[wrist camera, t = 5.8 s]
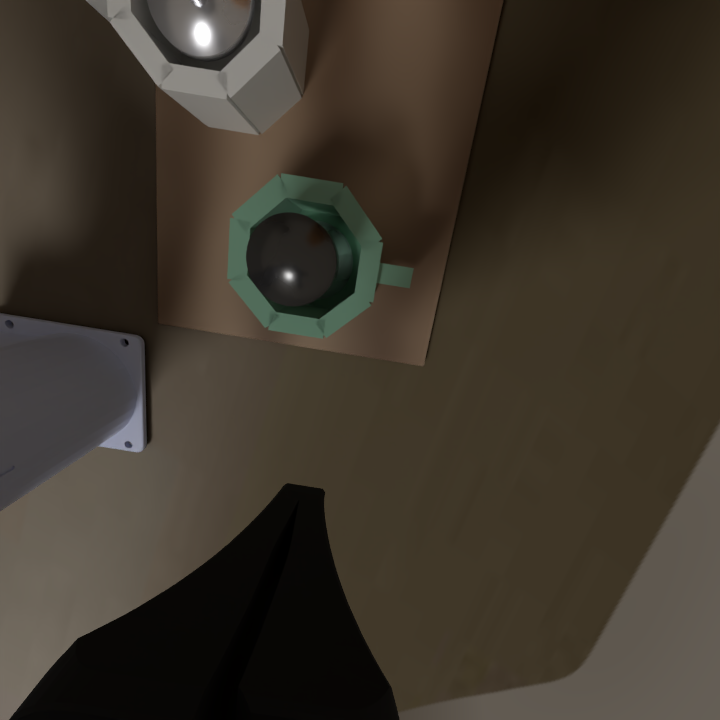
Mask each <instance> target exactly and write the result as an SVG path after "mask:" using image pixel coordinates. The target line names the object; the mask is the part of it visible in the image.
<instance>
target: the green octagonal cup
mask: <svg viewBox="0 0 720 720" xmlns="http://www.w3.org/2000/svg"><path fill="white" fill-rule="evenodd" d="M284 212H292V213H298V214H302V215H305V216H307V217H309V218H311V219H313V220H316V221H322V222H326V223H328V224H330V225H332V226H334V227H335V228H336V229H338V230H339V231H340V232H341V233H342V234H343V235H344V236H345V238H346V239H347V241H348V243H349V245H350V247H351V251H352V255H353V268H352V272H351V275H350V278H349V280H348V282H347V283H346V284H345V286H344V287H343V288H342V289H341V290H340V291H339V292H337V293H336V294H334V295H333V296H330V297H328V298H325V299H317V300H315V301H313V302H311V303H309V304H306V305H302V306H285V305H281V304H278V303H275V302H273V301H271V300H270V299H268V298H267V297H265V296H264V295H263V294H262V293H261V292H260V291H259V290H258V289H257V287H256V286H255V285H254V283H253V281H252V279H251V277H250V275H249V272H248V268H247V263H246V251H247V245H248V242H249V239H250V237H251V235H252V233H253V231H254V230H255V229H256V227H257V226H258V225H259V224H260V223H261V222H262V221H264V220H265V219H266V218H268V217H270V216H272V215H275V214H278V213H284ZM232 215H233V217H234V218H230V228H229V250H228V272H227V279H232V280H231V281H229V284H230V285H231V286H232V287H233V289H234V290H235V291H236V292H237V294H238V295H239V296H240V297H241V299H242V300H243V301H244V302H245V304H246V305H247V306H248V307H249V309H250V310H251V311H252V312H253V314H254V315H255V316H256V317H257V319H258V320H259V321H260V322H261V323H262V325H263V326H264V327H265V328H267V327H268V326H269V328H268V330H271V331H277V332H284V333H290V334H296V335H302V336H308V337H315V338H321V339H323V338H324V337H326V338H327V337H328V336H330V335H331V334H333V333H334V332H335V331H337V330H338V329H340V328H341V327H342V326H344V325H345V324H346V323H348V322H349V321H351V320H352V319H353V318H355V317H356V316H358V315H359V314H360V313H362V312H363V311H364V310H366V309H367V308H369V307H370V306H371V303H372V302H373V301H374V295H375V289H376V283H380V284H386V285H392V286H398V287H404V288H410V284H411V279H412V274H413V269H414V268H409V267H403V266H397V265H391V264H384V263H380V259H381V253H382V247H383V243H382V242H381V241H382V238H381V236H380V235H379V233H378V232H377V230H376V229H375V227H374V226H373V224H372V223H371V221H370V220H369V218H368V217H367V215H366V214H365V212H364V211H363V209H362V208H361V206H360V205H359V204H358V202H357V201H356V199H355V198H354V196H353V195H352V193H351V192H350V190H349V189H348V187H347V186H345V187H344V185H343V183H338V182H332V181H326V180H320V179H314V178H308V177H302V176H295V175H289V174H283V173H281V177H280V176H279V175H278V174H277V175H276V176H275V177H274V178H273V179H271V180H270V181H269V182H268V183H267V184H266V185H265V186H263V187H262V188H261V189H260V190H259V191H258V192H257V193H255V194H254V195H253V196H252V197H251V198H250V199H249V200H247V201H246V202H245V203H244V204H243V205H242V206H241V207H239V208H238V209H237V210H236V211H235V212H234V213H232Z"/></svg>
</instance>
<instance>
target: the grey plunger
mask: <svg viewBox="0 0 720 720" xmlns="http://www.w3.org/2000/svg"><path fill="white" fill-rule="evenodd" d="M147 3H148V6H149V10H150V12H151V15H152V17H153V19H154V21H155V23H156V25H157V27H158V28H159V30H160V31H161V33H162V34H163V35H164V36H165V37H166V39H167V40H168V41H169V42H170V43H171V44H172V45H173V46H174V47H175V48H176V49H177V50H179V51H180V52H181V53H182V54H184V55H186V56H188V57H189V58H192V59H194V60H198V61H203V62H214V61H219V60H222V59H224V58H227V57H228V56H230V55H231V54H233V53H234V52H235V51H236V50H237V49H238V48H239V47H240V46H241V45H242V44H243V42H244V41H245V39H246V37H247V35H248V33H249V31H250V28H251V25H252V21H253V16H254V0H147Z"/></svg>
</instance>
